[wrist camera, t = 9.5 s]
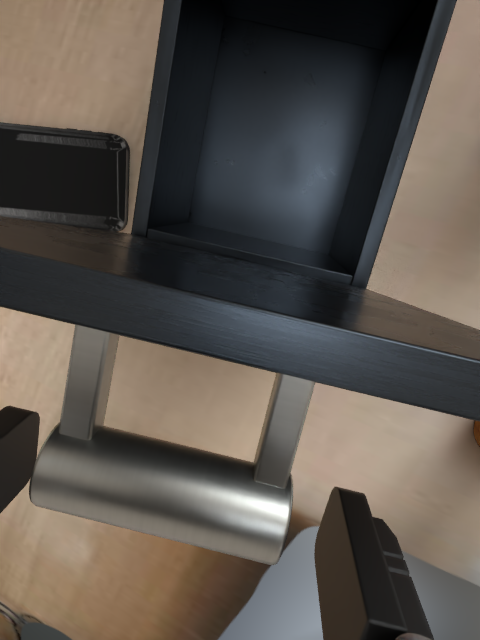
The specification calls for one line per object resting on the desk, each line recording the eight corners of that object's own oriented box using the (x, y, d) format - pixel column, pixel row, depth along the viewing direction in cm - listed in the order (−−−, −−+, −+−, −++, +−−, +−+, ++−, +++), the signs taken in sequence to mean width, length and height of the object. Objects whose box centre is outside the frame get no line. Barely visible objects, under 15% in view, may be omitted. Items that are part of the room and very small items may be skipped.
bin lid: (-316, 172, 5) (-309, 525, 6) (721, 417, 5) (564, 750, 6) (128, 233, 23) (112, 325, 24) (368, 289, 22) (342, 380, 23)
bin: (216, 5, 30) (180, -122, 19) (398, 44, 30) (475, -59, 18) (178, 230, 35) (129, 240, 23) (334, 266, 34) (364, 294, 23)
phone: (124, 233, 34) (-43, 214, 35) (128, 232, 35) (-34, 214, 36) (126, 133, 32) (-52, 115, 33) (131, 136, 33) (-42, 118, 34)
